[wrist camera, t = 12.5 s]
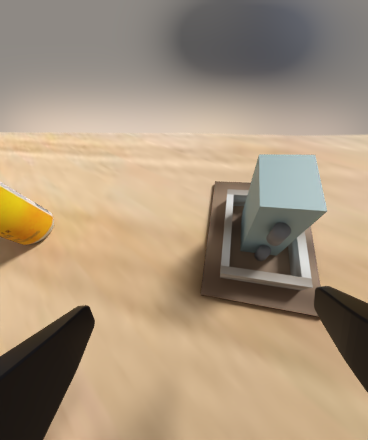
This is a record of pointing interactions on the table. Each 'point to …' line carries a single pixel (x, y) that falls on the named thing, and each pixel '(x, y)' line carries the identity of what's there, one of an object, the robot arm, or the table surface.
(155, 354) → the table surface
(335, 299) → the robot arm
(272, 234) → the pale blue box
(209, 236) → the brown framed base board
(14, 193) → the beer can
